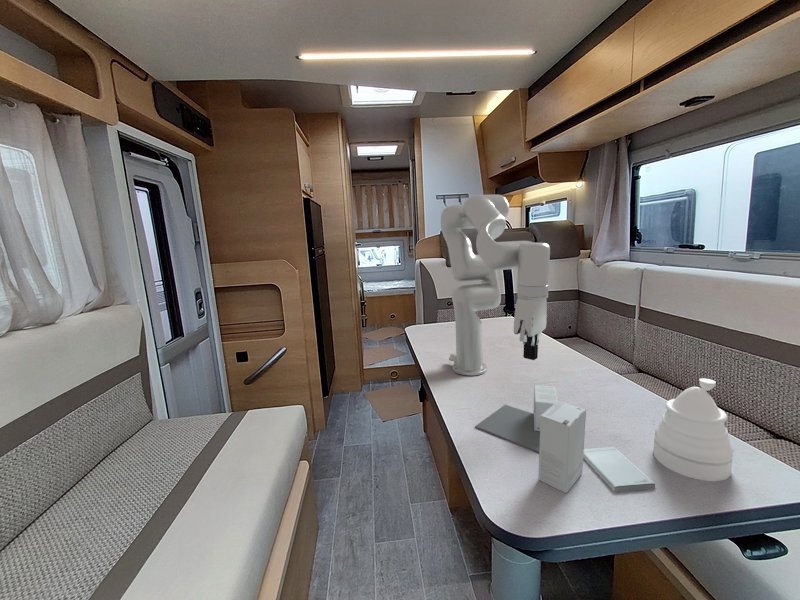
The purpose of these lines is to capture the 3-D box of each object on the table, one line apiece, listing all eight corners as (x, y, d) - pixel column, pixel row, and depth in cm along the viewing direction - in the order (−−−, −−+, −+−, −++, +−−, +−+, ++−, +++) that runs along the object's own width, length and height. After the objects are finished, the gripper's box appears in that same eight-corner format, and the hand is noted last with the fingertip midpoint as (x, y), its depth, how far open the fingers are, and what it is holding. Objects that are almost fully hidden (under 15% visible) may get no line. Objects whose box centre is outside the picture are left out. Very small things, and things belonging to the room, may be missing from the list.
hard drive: (655, 483, 69) (614, 445, 81) (614, 486, 69) (579, 448, 81) (655, 490, 69) (614, 452, 82) (614, 494, 69) (578, 455, 81)
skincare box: (555, 462, 78) (557, 398, 76) (584, 474, 74) (587, 407, 71) (537, 481, 73) (538, 413, 70) (567, 496, 68) (569, 424, 66)
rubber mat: (475, 427, 94) (475, 426, 94) (505, 405, 105) (505, 404, 104) (551, 458, 80) (552, 456, 80) (577, 429, 90) (577, 427, 90)
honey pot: (694, 442, 83) (702, 368, 80) (749, 479, 70) (760, 393, 67) (639, 445, 83) (645, 371, 80) (684, 483, 70) (693, 397, 67)
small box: (554, 413, 98) (558, 434, 88) (533, 411, 100) (534, 431, 90) (556, 386, 96) (559, 404, 87) (533, 384, 98) (535, 402, 88)
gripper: (531, 285, 100) (529, 347, 104) (504, 294, 90) (503, 363, 94) (559, 288, 95) (555, 353, 99) (533, 297, 85) (531, 370, 89)
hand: (530, 358), depth 96 cm, fingers closed
